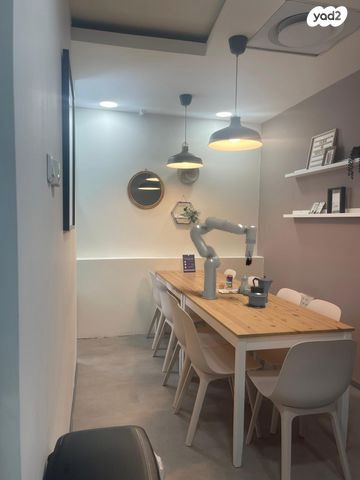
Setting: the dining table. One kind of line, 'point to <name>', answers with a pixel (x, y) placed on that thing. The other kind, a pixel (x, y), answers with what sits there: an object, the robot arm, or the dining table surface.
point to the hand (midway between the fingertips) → (248, 264)
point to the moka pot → (263, 284)
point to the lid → (257, 291)
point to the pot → (257, 301)
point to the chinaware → (244, 286)
